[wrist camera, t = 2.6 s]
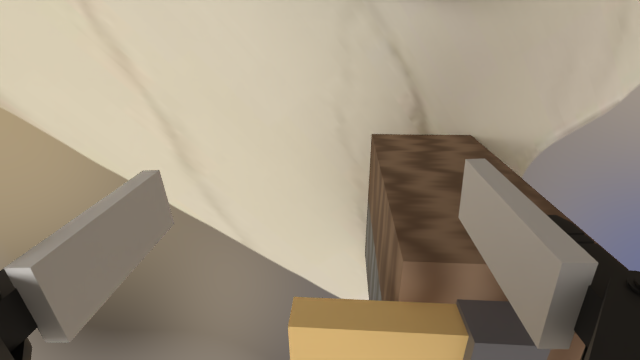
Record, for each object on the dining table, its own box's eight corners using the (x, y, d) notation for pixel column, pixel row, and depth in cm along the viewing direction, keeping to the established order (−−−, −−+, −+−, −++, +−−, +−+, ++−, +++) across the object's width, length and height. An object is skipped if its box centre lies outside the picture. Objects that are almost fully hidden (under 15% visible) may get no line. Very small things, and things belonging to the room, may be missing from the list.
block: (295, 335, 29) (288, 379, 26) (293, 292, 27) (285, 333, 23) (508, 347, 28) (532, 394, 24) (522, 302, 26) (551, 346, 22)
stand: (365, 252, 65) (381, 445, 35) (371, 134, 55) (403, 261, 25) (448, 255, 64) (539, 456, 34) (471, 135, 54) (628, 269, 24)
